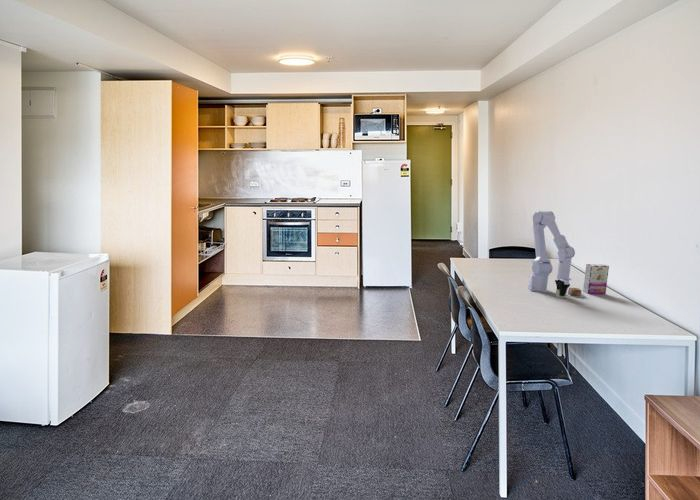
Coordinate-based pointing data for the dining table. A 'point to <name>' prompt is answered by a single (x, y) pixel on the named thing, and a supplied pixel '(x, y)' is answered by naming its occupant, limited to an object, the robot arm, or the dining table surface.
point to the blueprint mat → (575, 296)
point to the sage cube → (559, 294)
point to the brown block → (574, 292)
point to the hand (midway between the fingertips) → (560, 294)
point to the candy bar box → (595, 279)
